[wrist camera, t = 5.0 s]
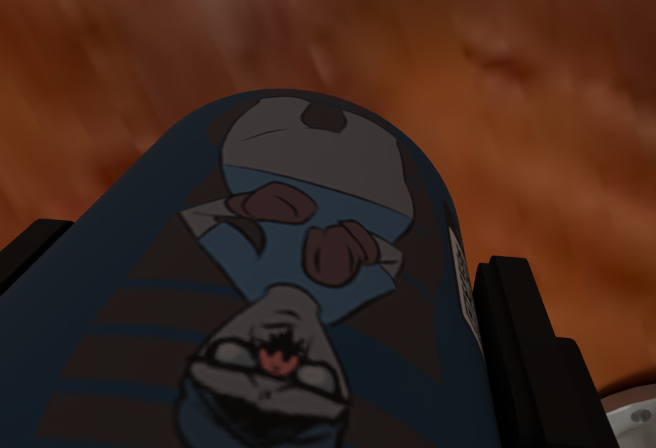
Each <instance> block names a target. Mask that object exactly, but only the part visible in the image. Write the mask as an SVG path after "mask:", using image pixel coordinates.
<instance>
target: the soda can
mask: <svg viewBox="0 0 656 448" xmlns="http://www.w3.org/2000/svg"><path fill="white" fill-rule="evenodd" d="M0 448H502V445H501V440H500V435H499V429H498V424H497V419H496V414H495V409H494V403H493V398H492V393H491V388H490V383H489V377H488V372H487V367H486V362H485V356H484V351H483V346H482V341H481V336H480V330H479V325H478V320H477V315H476V310H475V304H474V299H473V294H472V289H471V284H470V278H469V273H468V268H467V263H466V258H465V252H464V247H463V242H462V237H461V232H460V226H459V221H458V217H457V213H456V209H455V207H454V204H453V201H452V198H451V196H450V194H449V191H448V189H447V187H446V185H445V183H444V181H443V180H442V178H441V176H440V174H439V173H438V171H437V170H436V168H435V167H434V165H433V164H432V163H431V161H430V160H429V159H428V158H427V156H426V155H425V154H424V153H423V151H422V150H421V149H420V148H419V147H418V146H417V145H416V144H415V143H414V142H413V141H412V140H411V139H410V138H408V137H407V136H406V135H405V134H404V133H403V132H402V131H400V130H399V129H398V128H396V127H395V126H394V125H392V124H391V123H390V122H388V121H386V120H385V119H383V118H382V117H380V116H378V115H377V114H375V113H373V112H371V111H369V110H367V109H365V108H363V107H361V106H359V105H356V104H354V103H352V102H349V101H346V100H343V99H341V98H338V97H334V96H330V95H327V94H323V93H317V92H312V91H306V90H296V89H263V90H256V91H248V92H244V93H239V94H235V95H231V96H228V97H225V98H222V99H219V100H216V101H214V102H212V103H209V104H207V105H205V106H203V107H201V108H199V109H197V110H195V111H193V112H192V113H190V114H189V115H187V116H185V117H184V118H183V119H181V120H180V121H179V122H177V123H176V124H175V125H173V126H172V127H171V128H170V129H169V130H168V131H167V132H166V133H165V134H164V135H163V136H162V137H161V138H160V139H159V140H158V141H157V142H156V143H155V144H154V145H153V146H152V147H151V148H150V149H149V150H148V151H147V152H146V153H144V154H143V155H142V156H141V157H140V158H139V159H138V160H137V161H136V162H135V163H134V164H133V165H132V166H131V167H130V168H129V169H128V170H127V171H126V172H125V173H124V174H123V175H122V176H121V177H120V178H119V179H118V180H117V181H116V182H115V183H114V184H113V185H112V186H111V187H110V188H109V189H108V190H107V191H106V192H105V193H104V194H103V195H102V196H101V197H100V198H99V199H98V200H97V201H96V202H95V203H94V204H93V205H92V206H91V207H90V208H89V209H88V210H87V211H86V212H85V213H84V214H83V215H82V216H81V217H80V218H79V219H78V220H77V221H76V222H75V223H74V224H73V225H72V226H71V227H70V228H69V229H68V230H67V231H66V232H65V233H64V234H63V235H62V236H61V237H60V238H59V239H58V240H57V241H56V242H55V243H54V244H53V245H52V246H51V247H50V248H49V249H48V250H47V251H46V252H45V253H44V254H43V255H42V256H41V257H40V258H39V259H38V260H37V261H36V262H35V263H34V264H33V265H32V266H31V267H30V268H29V269H28V270H27V271H26V272H25V273H24V274H23V275H22V276H21V277H20V278H19V279H18V280H17V281H16V282H15V283H14V284H13V285H12V286H11V287H10V288H9V289H8V290H7V291H6V292H5V293H4V294H3V295H2V296H1V297H0Z"/></svg>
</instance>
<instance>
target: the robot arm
mask: <svg viewBox="0 0 656 448" xmlns="http://www.w3.org/2000/svg"><path fill="white" fill-rule="evenodd" d="M73 224H74V222H72V221H66V220H53V219H38V220H36V221H35V222H34V223H32V224H31V225H30V226H29V227H28V228H27V229H26V230H24V231H23V232H22V233H21V234H20V235H19V236H18V237H16V238H15V239H14V240H13V241H12V242H11V243H10V244H9V245H7V246H6V247H5V248H4V249H3V250H2V251H1V252H0V297H1V296H2V295H3V294H4V293H5V292H6V291H7V290H8V289H9V288H10V287H11V286H12V285H13V284H14V283H15V282H16V281H17V280H18V279H19V278H20V277H21V276H22V275H23V274H24V273H25V272H26V271H27V270H28V269H29V268H30V267H31V266H32V265H33V264H34V263H35V262H36V261H37V260H38V259H39V258H40V257H41V256H42V255H43V254H44V253H45V252H46V251H47V250H48V249H49V248H50V247H51V246H52V245H53V244H54V243H55V242H56V241H57V240H58V239H59V238H60V237H61V236H62V235H63V234H64V233H65V232H66V231H67V230H68V229H69V228H70V227H71V226H72V225H73ZM472 294H473V299H474V304H475V310H476V315H477V320H478V325H479V330H480V336H481V341H482V346H483V351H484V356H485V362H486V367H487V372H488V377H489V383H490V388H491V393H492V398H493V403H494V409H495V414H496V419H497V424H498V429H499V435H500V440H501V445H502V448H656V383H655V384H650V385H644V386H639V387H634V388H631V389H628V390H625V391H622V392H619V393H615V394H612V395H609V396H607V397H605V398H603V399H601V400H600V398H599V395H598V393H597V391H596V388H595V386H594V383H593V381H592V378H591V376H590V373H589V371H588V369H587V366H586V364H585V361H584V359H583V356H582V354H581V352H580V349H579V347H578V345H577V344H576V342H575V341H574V340H573V339H571V338H562V337H556V336H555V334H554V331H553V328H552V325H551V323H550V320H549V317H548V315H547V312H546V309H545V306H544V304H543V301H542V298H541V296H540V293H539V290H538V287H537V285H536V282H535V279H534V277H533V274H532V271H531V268H530V266H529V263H528V261H527V259H526V258H517V257H505V256H492V257H491V259H490V261H489V263H479V265H478V267H477V272H476V277H475V282H474V288H473V293H472Z"/></svg>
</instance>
